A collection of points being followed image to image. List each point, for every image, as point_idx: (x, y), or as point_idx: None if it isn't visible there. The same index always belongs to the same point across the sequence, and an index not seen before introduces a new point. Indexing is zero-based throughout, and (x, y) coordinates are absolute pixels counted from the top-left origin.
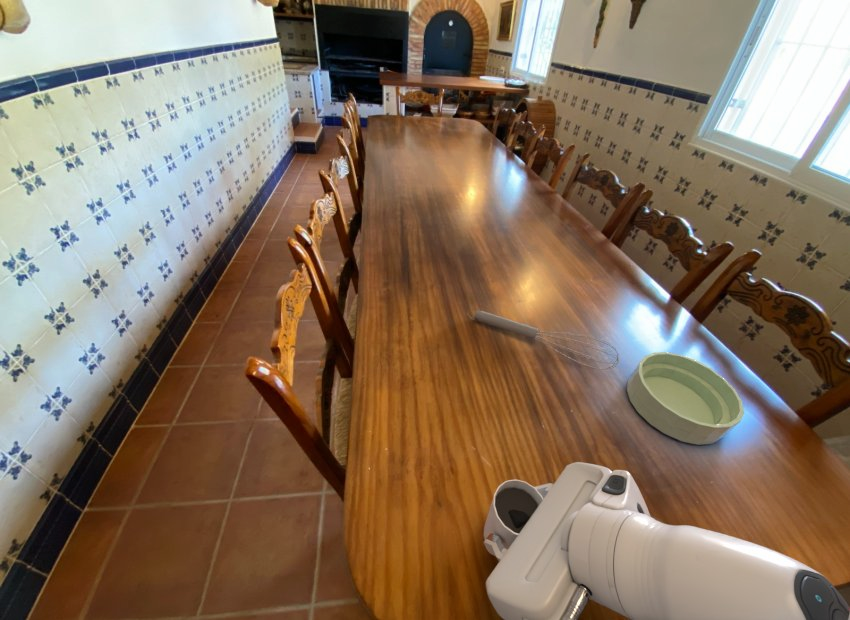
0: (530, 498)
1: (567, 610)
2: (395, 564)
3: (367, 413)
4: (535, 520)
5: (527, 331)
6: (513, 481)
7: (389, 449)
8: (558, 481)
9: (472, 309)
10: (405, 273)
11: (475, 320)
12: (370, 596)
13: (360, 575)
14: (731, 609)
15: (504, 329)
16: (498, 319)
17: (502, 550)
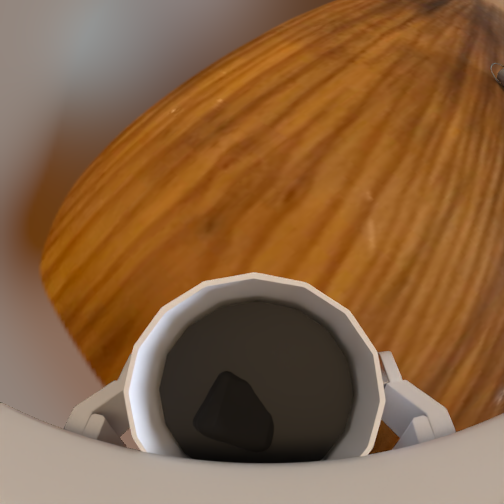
0: (342, 404)
1: None
2: (83, 246)
3: (244, 55)
4: (225, 497)
5: None
6: (334, 310)
7: (223, 103)
8: (472, 441)
9: (499, 64)
10: (432, 5)
11: (498, 81)
12: (42, 252)
13: (53, 222)
14: None
15: None
16: None
17: (95, 416)
